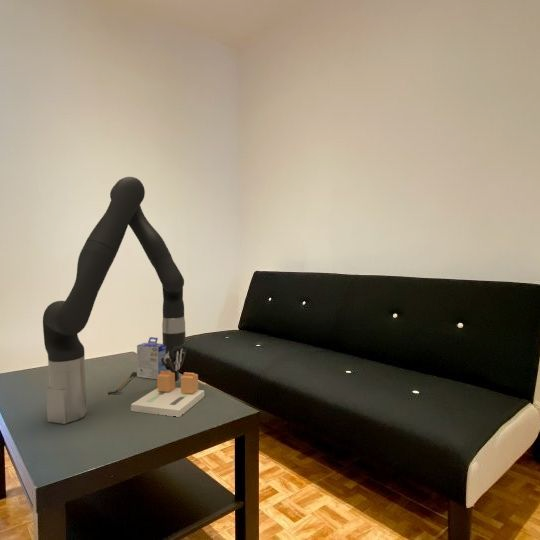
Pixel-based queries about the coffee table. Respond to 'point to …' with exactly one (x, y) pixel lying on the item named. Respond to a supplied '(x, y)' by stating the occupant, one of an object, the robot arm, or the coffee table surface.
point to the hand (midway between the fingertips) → (174, 380)
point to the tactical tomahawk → (123, 385)
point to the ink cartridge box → (150, 359)
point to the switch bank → (167, 402)
